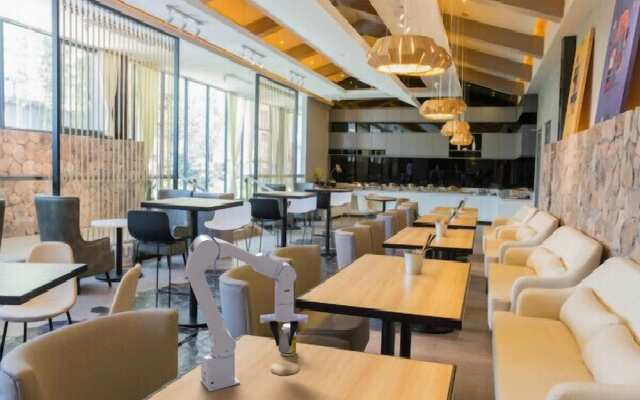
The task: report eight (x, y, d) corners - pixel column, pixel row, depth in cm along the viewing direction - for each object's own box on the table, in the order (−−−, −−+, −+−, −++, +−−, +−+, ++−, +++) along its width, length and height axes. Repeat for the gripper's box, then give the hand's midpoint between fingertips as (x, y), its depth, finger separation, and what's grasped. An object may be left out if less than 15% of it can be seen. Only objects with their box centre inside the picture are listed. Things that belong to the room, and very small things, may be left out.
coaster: (278, 377, 152) (278, 376, 152) (265, 366, 160) (265, 365, 159) (304, 370, 157) (304, 369, 157) (289, 360, 164) (289, 359, 164)
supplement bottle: (295, 356, 168) (295, 328, 167) (279, 356, 168) (279, 328, 167) (296, 350, 173) (296, 322, 172) (281, 349, 173) (281, 322, 172)
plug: (281, 353, 152) (281, 331, 152) (276, 349, 155) (276, 328, 155) (291, 350, 154) (291, 329, 154) (286, 347, 157) (286, 326, 156)
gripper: (307, 298, 158) (307, 339, 159) (261, 298, 157) (261, 340, 158) (308, 305, 151) (307, 348, 152) (259, 305, 150) (259, 348, 151)
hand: (283, 344), depth 155 cm, fingers closed on plug, 3 cm apart
